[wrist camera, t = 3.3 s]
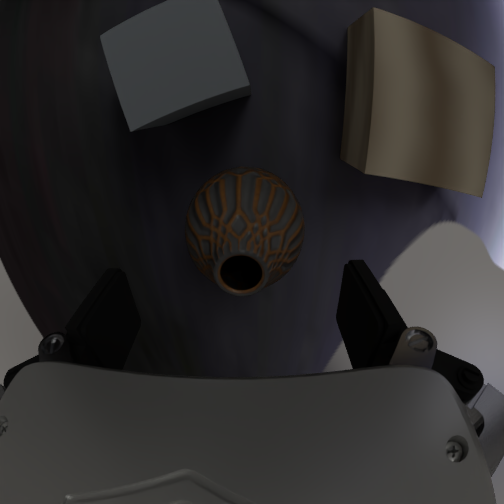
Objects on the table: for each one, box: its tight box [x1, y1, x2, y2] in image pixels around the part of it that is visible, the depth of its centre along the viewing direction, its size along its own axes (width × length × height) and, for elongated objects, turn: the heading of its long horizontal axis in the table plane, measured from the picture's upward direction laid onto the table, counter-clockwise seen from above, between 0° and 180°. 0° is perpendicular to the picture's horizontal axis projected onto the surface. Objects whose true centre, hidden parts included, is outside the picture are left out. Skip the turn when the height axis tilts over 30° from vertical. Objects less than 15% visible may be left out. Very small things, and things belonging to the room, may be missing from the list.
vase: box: [185, 167, 304, 296], centre depth 15 cm, size 7×7×9 cm
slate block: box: [100, 0, 251, 132], centre depth 12 cm, size 6×6×6 cm
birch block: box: [340, 7, 495, 198], centre depth 13 cm, size 10×10×5 cm
